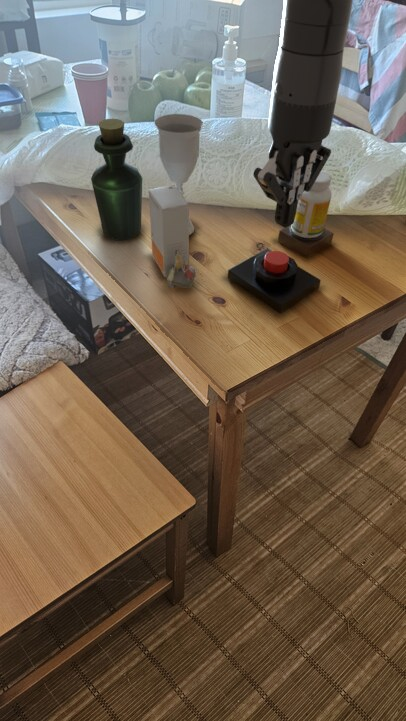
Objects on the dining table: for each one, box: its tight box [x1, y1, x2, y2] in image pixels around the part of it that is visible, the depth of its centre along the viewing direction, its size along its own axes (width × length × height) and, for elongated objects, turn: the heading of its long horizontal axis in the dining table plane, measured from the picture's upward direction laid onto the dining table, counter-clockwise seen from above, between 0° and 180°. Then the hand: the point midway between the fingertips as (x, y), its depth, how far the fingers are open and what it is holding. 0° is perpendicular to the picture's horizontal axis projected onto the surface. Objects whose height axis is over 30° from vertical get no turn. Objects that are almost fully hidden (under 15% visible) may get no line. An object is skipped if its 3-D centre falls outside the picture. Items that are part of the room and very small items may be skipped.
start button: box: [264, 250, 290, 274], centre depth 76 cm, size 4×4×2 cm
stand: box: [277, 225, 335, 259], centre depth 86 cm, size 6×6×2 cm
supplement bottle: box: [291, 170, 333, 238], centre depth 81 cm, size 5×5×10 cm
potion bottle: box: [90, 118, 143, 241], centre depth 81 cm, size 8×8×18 cm
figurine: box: [166, 250, 197, 289], centre depth 76 cm, size 5×4×6 cm
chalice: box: [154, 113, 204, 236], centre depth 82 cm, size 7×7×18 cm
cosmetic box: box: [148, 184, 190, 278], centre depth 77 cm, size 6×4×12 cm
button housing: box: [227, 247, 322, 314], centre depth 77 cm, size 11×9×4 cm
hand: (284, 223), depth 71 cm, fingers closed
